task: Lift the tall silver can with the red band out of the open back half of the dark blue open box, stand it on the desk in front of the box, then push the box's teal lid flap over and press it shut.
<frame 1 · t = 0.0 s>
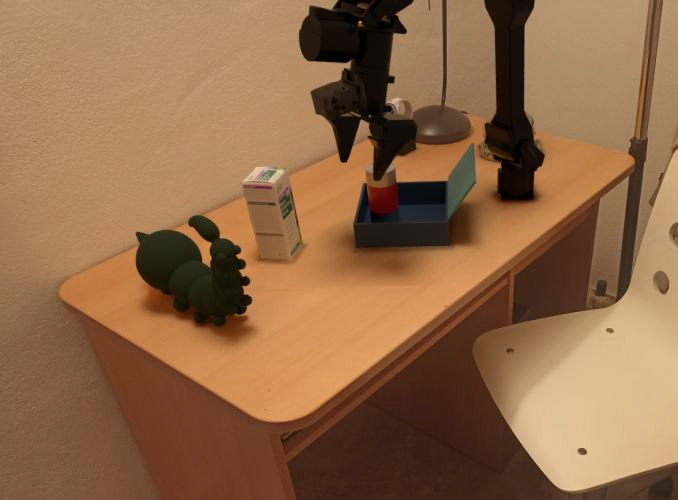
hand: (359, 171, 105), 15 cm above the table, tool pointing down, fingers open, 9 cm apart
cooler lid: (461, 179, 117), point 9 cm above the table, hinge at 125.0°
ceramic model: (509, 152, 147), on the table
can: (385, 224, 122), resting on dark blue open box
watch: (400, 150, 150), on the table
dark blue open box: (405, 226, 123), on the table
syrup box: (281, 253, 117), on the table
toy figurine: (200, 307, 105), on the table
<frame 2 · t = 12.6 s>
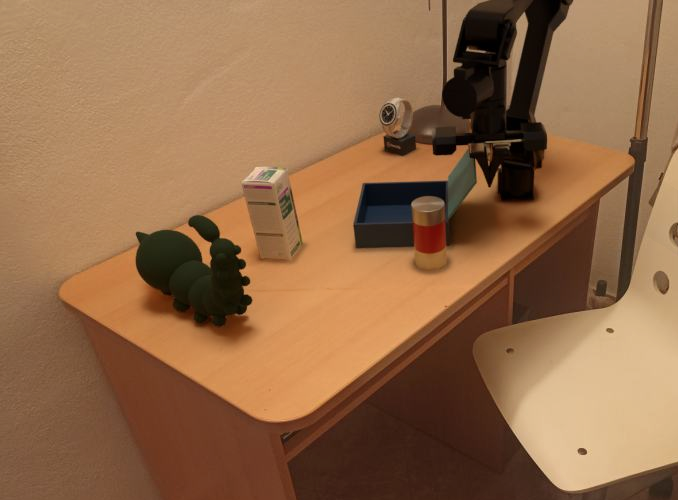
hand: (489, 186, 117), 7 cm above the table, tool pointing down, fingers closed
cooler lid: (461, 179, 117), point 9 cm above the table, hinge at 125.6°, touching gripper
can: (431, 263, 112), on the table
everything else where it was.
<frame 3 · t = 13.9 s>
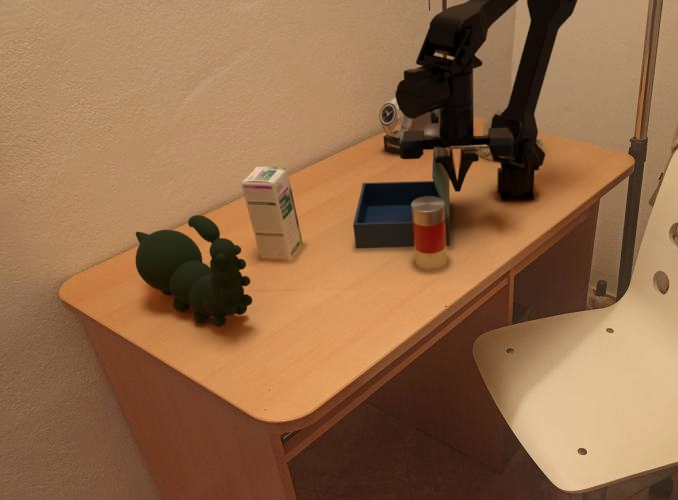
hand: (457, 190, 118), 7 cm above the table, tool pointing down, fingers closed
cooler lid: (441, 176, 116), point 9 cm above the table, hinge at 73.9°, touching gripper
everything else where it was.
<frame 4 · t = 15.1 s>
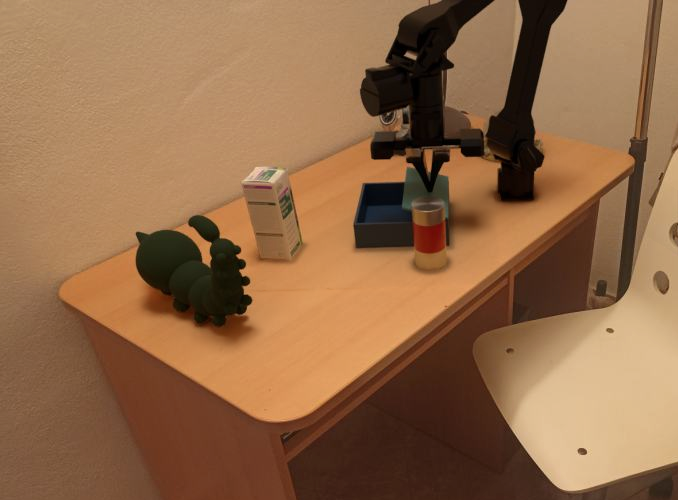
hand: (430, 191, 118), 7 cm above the table, tool pointing down, fingers closed
cooler lid: (426, 191, 118), point 7 cm above the table, hinge at 16.1°
everything else where it was.
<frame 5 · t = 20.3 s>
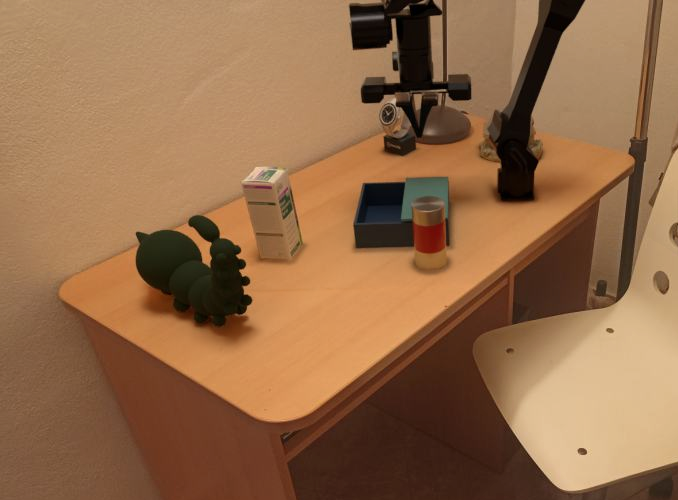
hand: (419, 137, 121), 13 cm above the table, tool pointing down, fingers closed
cooler lid: (425, 197, 119), point 6 cm above the table, hinge at -0.2°
everything else where it was.
at the end: can inside the target area (0.1 cm from its centre), on the table; can tilted 0°; cooler lid at +0° (first picture: +125°) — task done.
